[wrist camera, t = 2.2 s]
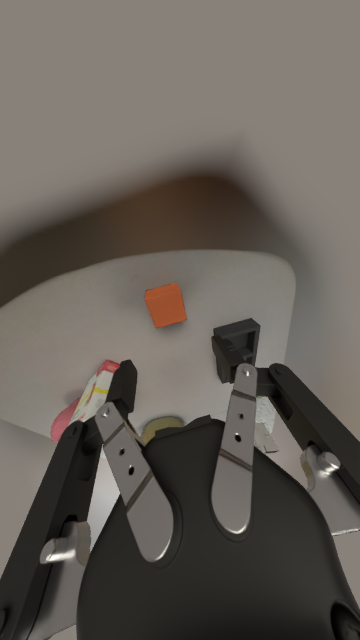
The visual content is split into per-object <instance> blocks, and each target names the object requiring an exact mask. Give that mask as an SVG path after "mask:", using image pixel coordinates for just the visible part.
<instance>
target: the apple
mask: <svg viewBox="0 0 360 640" xmlns="http://www.w3.org/2000/svg"><path fill="white" fill-rule="evenodd" d="M80 399H81V398H79V399H77V400H76V401H74V402H73V403H72V404H71V405H70V406H69V407H67V408H66V409H65V410H63V411H62V412H61V413H60V414H59V415H58V416H57V418H56V419H55V420H54V422H53V424H52V426H51V437H52V441H58V442H59V440H60V437H61V435H62V433H63V432H64V430H65V429H66V428H67V427H68V425H69V423H70V421H71V418H72V416H73V414H74V412H75V410H76V408H77V406H78V403H79V401H80Z"/></svg>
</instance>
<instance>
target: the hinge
mask: <svg viewBox="0 0 360 640" xmlns="http://www.w3.org/2000/svg"><path fill="white" fill-rule="evenodd" d="M254 442H255V444H256V446H257V448H258V449H259V450H260V451H261V452H263V453H264V454H269V453H275V452H277V451H279V448H278V447H277V445H276V443H275V442H274V440H273V438H272V437H271V435H270V433H269V432H268V430H267V428H266V427H265V425H264V423H255V433H254ZM255 444H254V446H255ZM256 446H255V447H256Z"/></svg>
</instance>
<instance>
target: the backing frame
mask: <svg viewBox="0 0 360 640" xmlns="http://www.w3.org/2000/svg"><path fill="white" fill-rule="evenodd" d="M259 333H260V325H259V324H258V323H257V322H255V321H254V320H253V319H252V318H250V319H247V320H243V321H240V322H236V323H233V324H229V325H225V326H222V327H218V328H215V329H214V336H216V335H220V336H221V338H222V339H228V340H230V341H231V342H232V343H233V345H234V346H235V347H236V349H237V350H238V351H239V353H240V354H241V355H242V357H243V358H244V359H245V361H246V362H247V363H248V364H251V365H253V366H254V367H255V361H256V354H257V347H258V340H259ZM216 360H217V358H216ZM217 371H218V376H219V378H220V380H221V382H222V384H223V383H227V382H229V380H228V379H227V377H226V375H225V373H224V371H223V369H222V367H221V365H220V363H219V362H218V360H217Z"/></svg>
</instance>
